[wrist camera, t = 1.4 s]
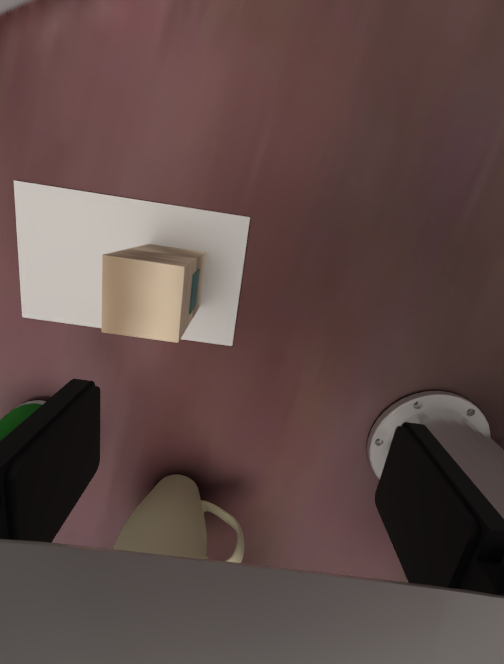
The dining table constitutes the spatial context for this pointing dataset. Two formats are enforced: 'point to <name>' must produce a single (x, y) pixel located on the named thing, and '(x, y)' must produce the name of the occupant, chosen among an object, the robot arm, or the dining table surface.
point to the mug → (174, 522)
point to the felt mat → (115, 235)
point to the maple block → (151, 291)
